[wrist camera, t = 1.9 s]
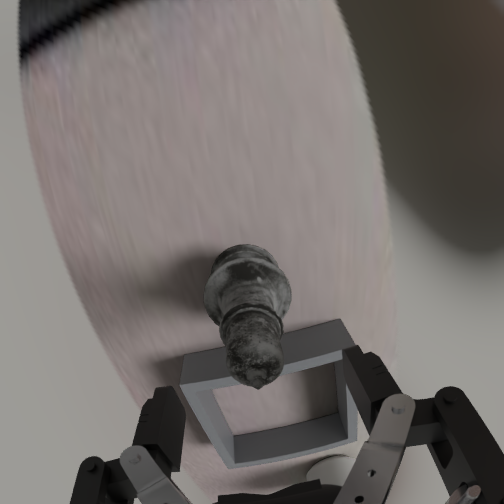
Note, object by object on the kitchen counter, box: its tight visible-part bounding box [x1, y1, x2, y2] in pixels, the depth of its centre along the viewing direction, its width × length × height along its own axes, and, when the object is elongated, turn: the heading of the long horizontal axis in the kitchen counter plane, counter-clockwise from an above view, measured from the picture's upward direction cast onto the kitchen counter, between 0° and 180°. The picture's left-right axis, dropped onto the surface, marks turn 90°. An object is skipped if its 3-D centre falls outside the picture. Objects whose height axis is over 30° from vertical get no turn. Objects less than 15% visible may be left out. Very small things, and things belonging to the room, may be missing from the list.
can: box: [306, 455, 356, 486], centre depth 29 cm, size 8×8×12 cm
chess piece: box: [204, 244, 291, 389], centre depth 18 cm, size 6×6×12 cm
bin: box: [179, 319, 357, 469], centre depth 26 cm, size 14×14×4 cm
